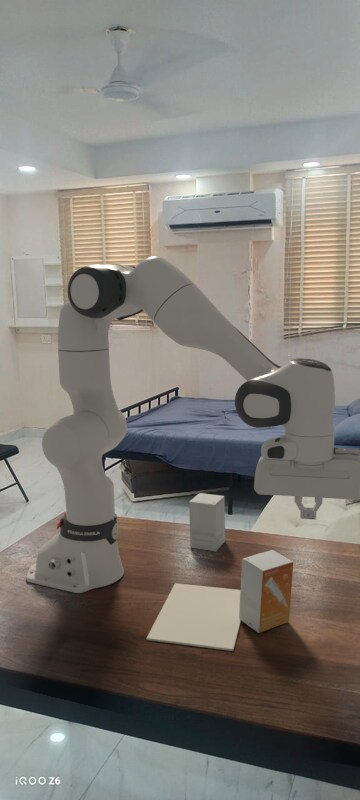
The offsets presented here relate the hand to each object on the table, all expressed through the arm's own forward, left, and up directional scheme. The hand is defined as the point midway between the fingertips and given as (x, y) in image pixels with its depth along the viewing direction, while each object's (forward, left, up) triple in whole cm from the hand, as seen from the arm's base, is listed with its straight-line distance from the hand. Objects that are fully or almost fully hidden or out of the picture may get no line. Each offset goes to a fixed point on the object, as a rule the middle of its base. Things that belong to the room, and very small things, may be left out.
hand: (308, 518), depth 111 cm
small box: (-8, 0, -22) cm, 24 cm away
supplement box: (-26, +34, -23) cm, 48 cm away
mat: (-21, 0, -22) cm, 30 cm away
